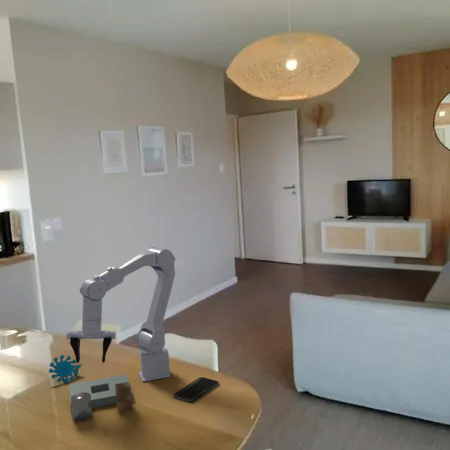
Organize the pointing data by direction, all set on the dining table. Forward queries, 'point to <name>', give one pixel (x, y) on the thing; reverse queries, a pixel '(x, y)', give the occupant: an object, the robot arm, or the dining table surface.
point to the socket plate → (99, 390)
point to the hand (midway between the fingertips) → (90, 361)
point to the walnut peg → (123, 397)
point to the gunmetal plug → (81, 406)
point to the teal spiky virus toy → (64, 369)
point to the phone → (196, 389)
